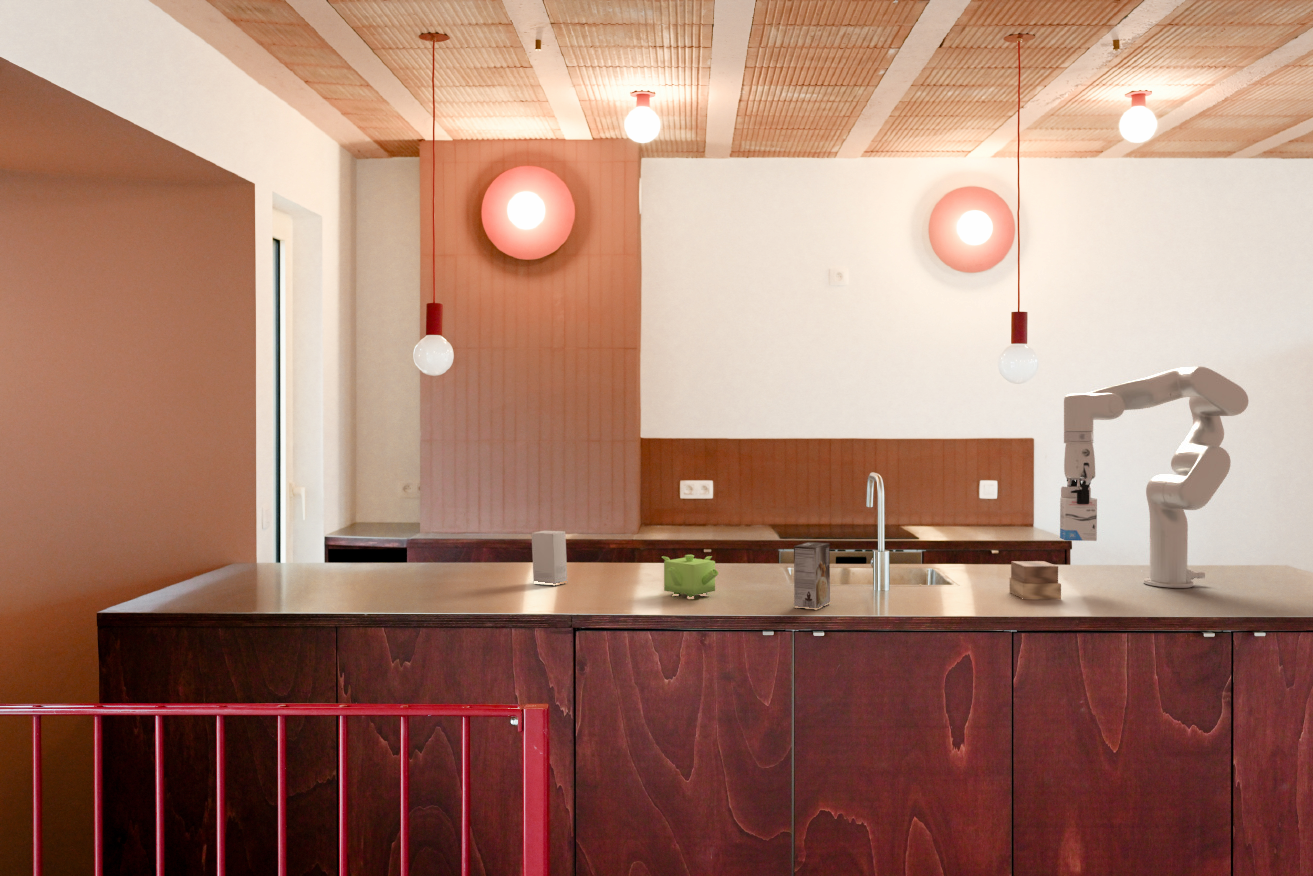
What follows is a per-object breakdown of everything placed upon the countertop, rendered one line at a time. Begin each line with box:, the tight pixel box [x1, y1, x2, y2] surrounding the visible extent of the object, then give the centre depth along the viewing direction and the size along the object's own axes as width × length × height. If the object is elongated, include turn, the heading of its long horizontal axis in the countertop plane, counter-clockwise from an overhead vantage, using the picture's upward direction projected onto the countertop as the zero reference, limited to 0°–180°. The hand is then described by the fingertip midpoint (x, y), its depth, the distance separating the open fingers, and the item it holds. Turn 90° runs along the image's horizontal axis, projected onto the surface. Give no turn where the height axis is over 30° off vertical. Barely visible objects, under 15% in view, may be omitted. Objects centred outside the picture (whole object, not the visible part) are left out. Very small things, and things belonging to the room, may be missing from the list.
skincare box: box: [531, 530, 568, 584], centre depth 277 cm, size 8×7×16 cm
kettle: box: [661, 554, 719, 597], centre depth 258 cm, size 15×14×11 cm
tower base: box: [1009, 577, 1062, 600], centre depth 254 cm, size 10×10×4 cm
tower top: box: [1010, 560, 1059, 583], centre depth 254 cm, size 9×9×4 cm
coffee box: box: [793, 541, 831, 608], centre depth 242 cm, size 9×6×16 cm
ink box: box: [1059, 486, 1098, 542], centre depth 263 cm, size 9×5×15 cm, turn 84°
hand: (1078, 502), depth 263 cm, fingers closed on ink box, 5 cm apart
